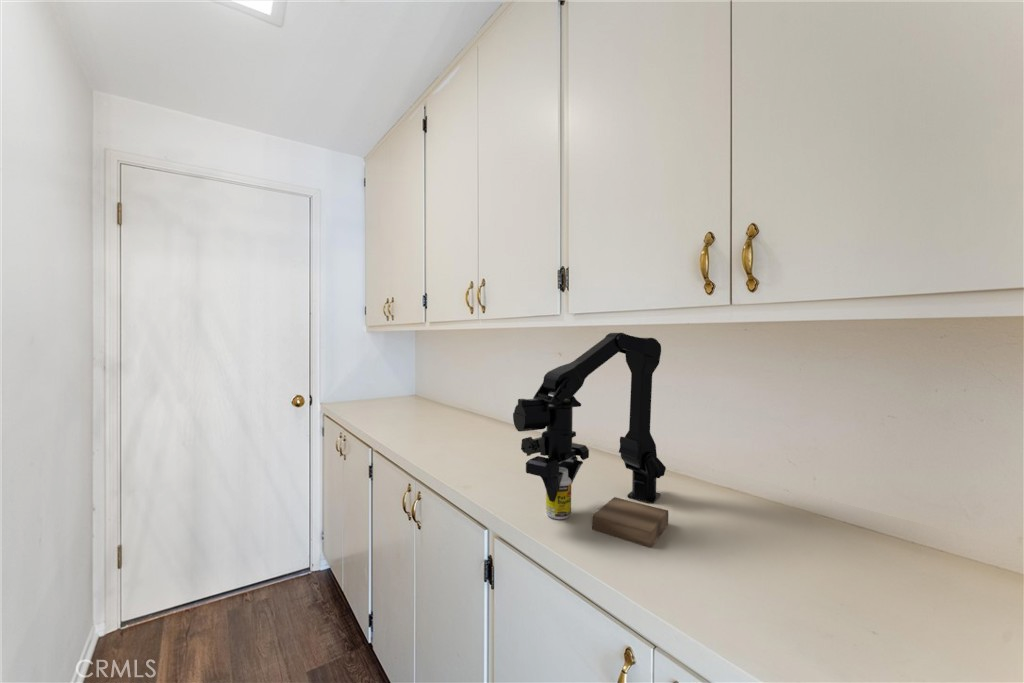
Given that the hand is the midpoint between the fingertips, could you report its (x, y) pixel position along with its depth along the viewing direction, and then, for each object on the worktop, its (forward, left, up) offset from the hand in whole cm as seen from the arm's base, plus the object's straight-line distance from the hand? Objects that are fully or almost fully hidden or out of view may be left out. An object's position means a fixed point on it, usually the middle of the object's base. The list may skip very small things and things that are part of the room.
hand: (558, 496), depth 91 cm
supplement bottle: (0, 0, -4) cm, 4 cm away
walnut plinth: (-4, +15, -4) cm, 16 cm away
